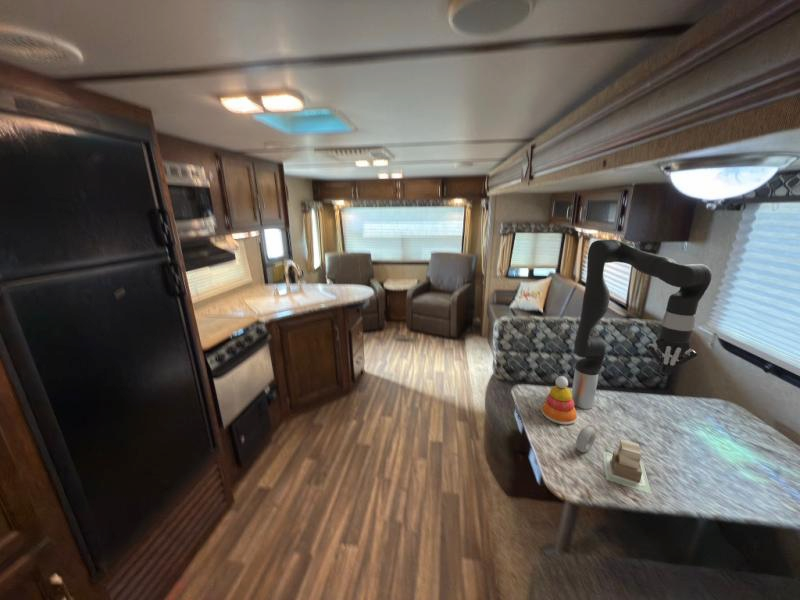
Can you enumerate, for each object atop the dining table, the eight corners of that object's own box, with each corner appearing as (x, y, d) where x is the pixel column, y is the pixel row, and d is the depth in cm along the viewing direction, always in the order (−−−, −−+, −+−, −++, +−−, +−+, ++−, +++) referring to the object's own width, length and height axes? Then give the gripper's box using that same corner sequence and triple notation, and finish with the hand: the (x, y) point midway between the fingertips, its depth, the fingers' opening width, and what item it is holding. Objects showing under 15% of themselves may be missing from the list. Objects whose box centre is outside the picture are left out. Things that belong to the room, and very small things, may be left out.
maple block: (617, 453, 105) (620, 439, 104) (635, 458, 103) (638, 444, 101) (619, 463, 101) (622, 448, 99) (637, 469, 99) (641, 454, 97)
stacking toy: (569, 407, 138) (575, 369, 133) (583, 428, 125) (590, 386, 119) (536, 405, 140) (541, 367, 135) (546, 425, 127) (552, 384, 121)
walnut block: (611, 459, 108) (613, 450, 107) (636, 467, 104) (638, 457, 103) (613, 474, 102) (615, 464, 101) (639, 482, 98) (642, 472, 97)
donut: (581, 459, 109) (585, 436, 107) (572, 453, 112) (576, 430, 109) (595, 447, 115) (599, 425, 112) (585, 442, 117) (589, 420, 115)
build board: (602, 452, 112) (602, 450, 112) (642, 464, 106) (643, 462, 106) (605, 481, 100) (606, 478, 100) (651, 496, 95) (651, 493, 94)
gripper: (700, 325, 97) (687, 372, 102) (648, 319, 104) (639, 364, 108) (709, 333, 91) (695, 383, 96) (653, 326, 97) (643, 374, 102)
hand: (665, 373), depth 102 cm, fingers closed
